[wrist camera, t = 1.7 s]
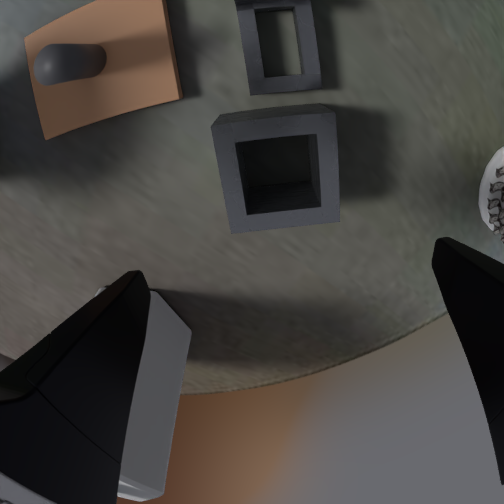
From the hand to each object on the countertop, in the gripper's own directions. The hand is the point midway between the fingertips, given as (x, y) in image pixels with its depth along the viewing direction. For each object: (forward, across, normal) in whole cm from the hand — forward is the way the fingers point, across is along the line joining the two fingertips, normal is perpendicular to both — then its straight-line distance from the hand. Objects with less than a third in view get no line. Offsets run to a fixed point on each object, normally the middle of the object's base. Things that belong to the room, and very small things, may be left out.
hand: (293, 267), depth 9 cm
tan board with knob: (+12, +10, -8) cm, 18 cm away
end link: (+12, 0, 0) cm, 12 cm away
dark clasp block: (+12, -1, -9) cm, 15 cm away
